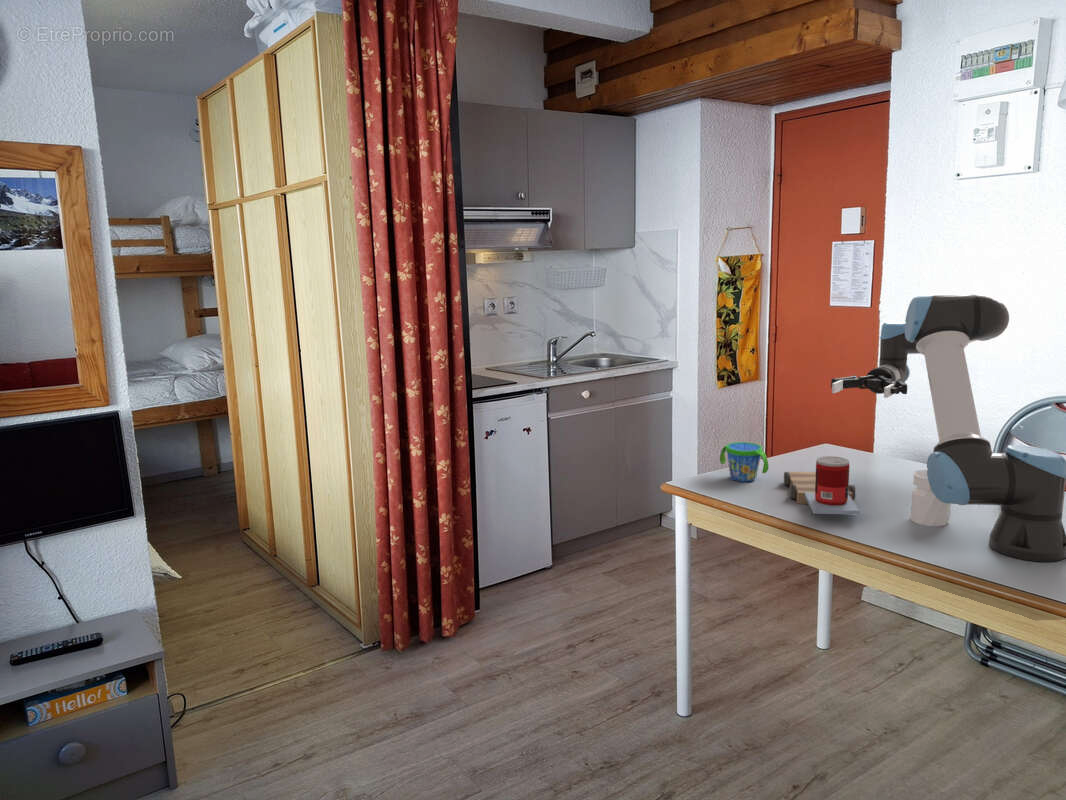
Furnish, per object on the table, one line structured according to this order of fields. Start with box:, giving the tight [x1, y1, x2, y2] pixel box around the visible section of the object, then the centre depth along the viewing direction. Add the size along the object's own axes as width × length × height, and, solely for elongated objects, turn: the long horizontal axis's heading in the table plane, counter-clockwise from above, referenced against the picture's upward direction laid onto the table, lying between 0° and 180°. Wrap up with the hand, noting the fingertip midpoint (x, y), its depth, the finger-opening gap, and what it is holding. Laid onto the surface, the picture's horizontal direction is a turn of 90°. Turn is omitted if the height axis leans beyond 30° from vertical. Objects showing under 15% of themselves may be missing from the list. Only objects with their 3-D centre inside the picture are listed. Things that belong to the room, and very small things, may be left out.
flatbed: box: [783, 471, 857, 505], centre depth 221 cm, size 20×16×4 cm
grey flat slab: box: [804, 492, 861, 515], centre depth 204 cm, size 1×11×14 cm
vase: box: [910, 469, 952, 527], centre depth 196 cm, size 9×9×12 cm
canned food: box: [815, 455, 850, 505], centre depth 202 cm, size 8×8×11 cm
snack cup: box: [719, 441, 769, 483], centre depth 235 cm, size 16×10×10 cm
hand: (858, 390), depth 212 cm, fingers open, 13 cm apart
